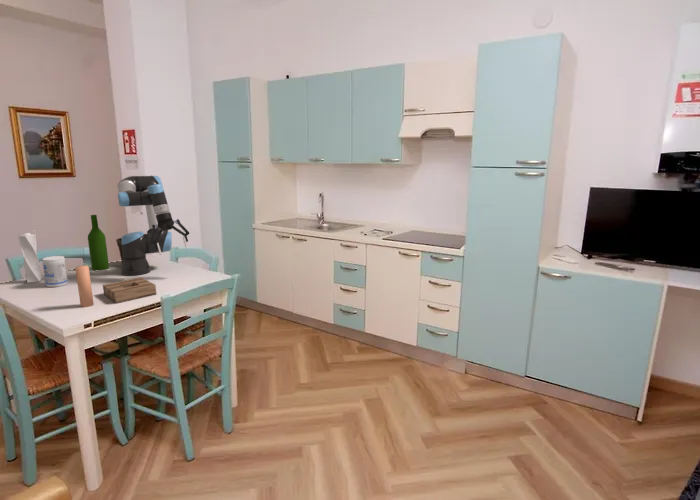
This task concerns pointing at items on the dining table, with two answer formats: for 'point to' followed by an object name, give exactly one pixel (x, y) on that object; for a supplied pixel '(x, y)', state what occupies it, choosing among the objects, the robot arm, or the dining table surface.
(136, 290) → the socket block
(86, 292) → the peg
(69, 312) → the dining table surface
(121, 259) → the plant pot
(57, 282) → the supplement tub
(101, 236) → the wine bottle
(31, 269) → the skyscraper
